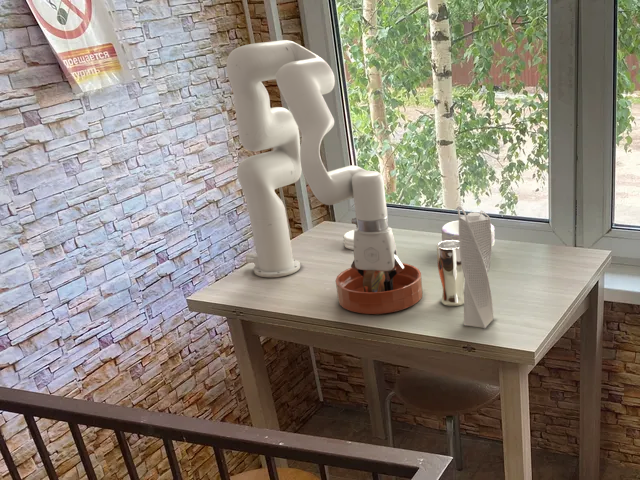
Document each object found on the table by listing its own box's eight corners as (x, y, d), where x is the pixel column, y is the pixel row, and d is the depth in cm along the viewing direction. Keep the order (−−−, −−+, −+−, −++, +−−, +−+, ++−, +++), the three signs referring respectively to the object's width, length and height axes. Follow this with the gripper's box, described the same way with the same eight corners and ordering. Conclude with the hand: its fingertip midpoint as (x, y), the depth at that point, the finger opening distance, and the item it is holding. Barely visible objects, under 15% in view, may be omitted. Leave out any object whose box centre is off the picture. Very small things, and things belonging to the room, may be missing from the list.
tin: (375, 308, 195) (371, 276, 190) (363, 307, 195) (359, 275, 191) (395, 285, 207) (392, 255, 203) (384, 284, 208) (380, 254, 204)
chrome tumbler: (457, 309, 195) (453, 251, 187) (434, 303, 198) (430, 246, 191) (473, 299, 200) (470, 242, 192) (450, 294, 203) (447, 238, 196)
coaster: (350, 239, 243) (349, 228, 241) (382, 240, 241) (380, 228, 239) (340, 250, 234) (338, 238, 232) (372, 251, 233) (371, 239, 231)
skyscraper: (456, 326, 186) (449, 210, 172) (469, 313, 192) (463, 200, 178) (487, 330, 184) (482, 213, 170) (499, 318, 190) (495, 203, 176)
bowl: (325, 312, 194) (322, 290, 192) (357, 280, 212) (354, 259, 210) (407, 318, 191) (405, 295, 188) (432, 285, 209) (431, 263, 206)
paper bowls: (505, 249, 231) (504, 223, 228) (475, 265, 220) (474, 238, 216) (462, 241, 239) (461, 215, 235) (432, 256, 228) (430, 229, 224)
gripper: (334, 227, 190) (344, 297, 199) (400, 230, 187) (407, 301, 196) (346, 217, 197) (355, 286, 206) (410, 220, 193) (416, 289, 202)
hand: (380, 292), depth 201 cm, fingers open, 3 cm apart
